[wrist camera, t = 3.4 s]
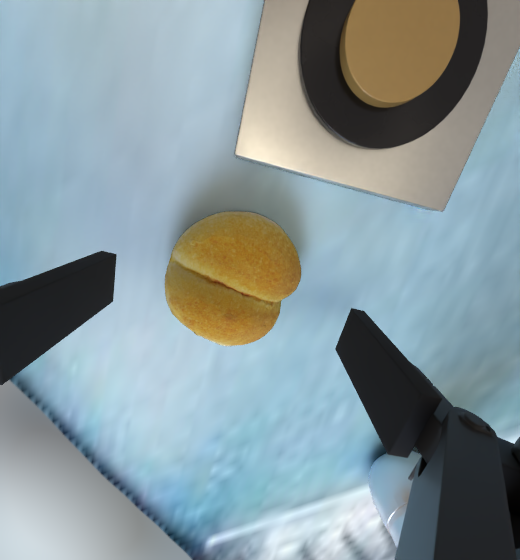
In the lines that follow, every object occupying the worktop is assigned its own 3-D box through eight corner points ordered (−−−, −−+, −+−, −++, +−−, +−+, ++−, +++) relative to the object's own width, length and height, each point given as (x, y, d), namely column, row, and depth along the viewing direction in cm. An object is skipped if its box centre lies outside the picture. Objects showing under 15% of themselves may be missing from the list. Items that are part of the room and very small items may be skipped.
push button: (235, 157, 16) (232, 151, 13) (296, -147, 12) (308, -248, 9) (428, 210, 17) (460, 213, 14) (542, -49, 13) (618, -112, 10)
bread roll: (316, 243, 18) (333, 257, 14) (255, 343, 20) (255, 378, 16) (205, 182, 16) (191, 180, 13) (154, 298, 19) (129, 325, 15)
